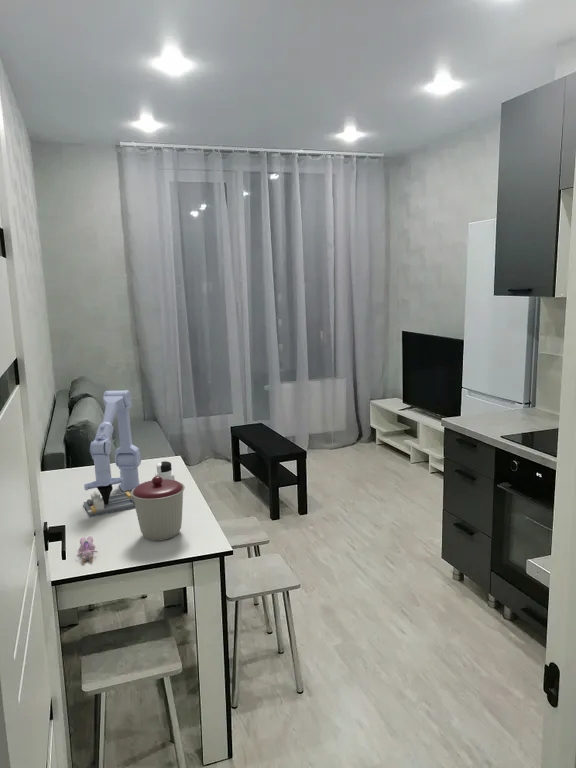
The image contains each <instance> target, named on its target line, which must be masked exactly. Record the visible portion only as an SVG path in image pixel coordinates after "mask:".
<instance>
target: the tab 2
mask: <svg viewBox="0 0 576 768" xmlns="http://www.w3.org/2000/svg"><path fill="white" fill-rule="evenodd" d="M94 507H95V509H96V510H101V509H104V501H103V500H102V497H100V499H99V498H97V499H95V500H94Z"/></svg>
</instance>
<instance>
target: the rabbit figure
mask: <svg viewBox="0 0 576 768" xmlns="http://www.w3.org/2000/svg"><path fill="white" fill-rule="evenodd" d="M93 542H94V538H93V536H87V538H86V537H85V536H84V537H81V538H80V539H79V544H80V546H79V547H78V553H77V554H76V556H77V557H78V556H80V555H81V561H82V564H83V565H84V564H86V562H87V561H89V562H90V563H93V562H94V554H93V553H98V550H95V549H96V546H95V544H94V543H93Z"/></svg>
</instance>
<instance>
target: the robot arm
mask: <svg viewBox="0 0 576 768" xmlns="http://www.w3.org/2000/svg"><path fill="white" fill-rule="evenodd" d="M102 396H103V397H102V400H103V405H104V407H105V409H104V413H103V419H102V422H101V423H99V424H98V426H97V427H98V428H97V431H96V434H95V437H94V440H91V442H90V446H89V453H90V455H91V459H92V460H93V464H94V474H95V481H91V482H88V483H83V488H84V491H88V490H93V489H97V490H98V492H99V494H100V497H101V498H103V501H104V504H105V505H108V503H109V497H110V496H111V493H112V491H113V485H118V486H119V487H120V489H121V490H122V491H123V492H129V491H132V490H133V489H134V488H135V487H137V486H138V485H140V484H141V483H140V479H139V467H140V465H141V462H142V454H141V453H140V451H141V450H140V448H139V447H137V446H136V445H134V444H133V438H132V429H131V420H130V419H131V418H130V409H131V408H132V407H133V402H132V401H133V400H132V394H131V392H130V391H129V389H126V390H106V391H104V393H103V395H102ZM115 417H117V425H118V427H117V429H118V436H119V447H118V448H116V450H115V452H114V453H115V456H114V463H115V466H116V467H118V470H119V477H112V471H111V460H110V454H111V453H112V452H111V451H112V440H111V439H112V436H113V434H114V429H115V428H114V426H113V423H114V420H115Z"/></svg>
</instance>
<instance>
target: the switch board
mask: <svg viewBox="0 0 576 768" xmlns="http://www.w3.org/2000/svg"><path fill="white" fill-rule="evenodd" d="M101 498H102V497H101ZM102 500H103V498H102ZM83 506H84V508H85V511H86V513H87V515H88V516H89V518H96V517H99V516H104V515H109V514H113V513H117V512H122V511H123V512H124V511H127V510H131V509H132V510H133V509H136V508H135V503H134V498H133V497H132V496H131V492H130V491H125V492H122V493H117V494H112V495H110V497H109V503H108V505H105V504H104V509H101V510H96V509H95V507H94V504H93V503H92V501H91V498H88V499H86V501H84V502H83Z"/></svg>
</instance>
